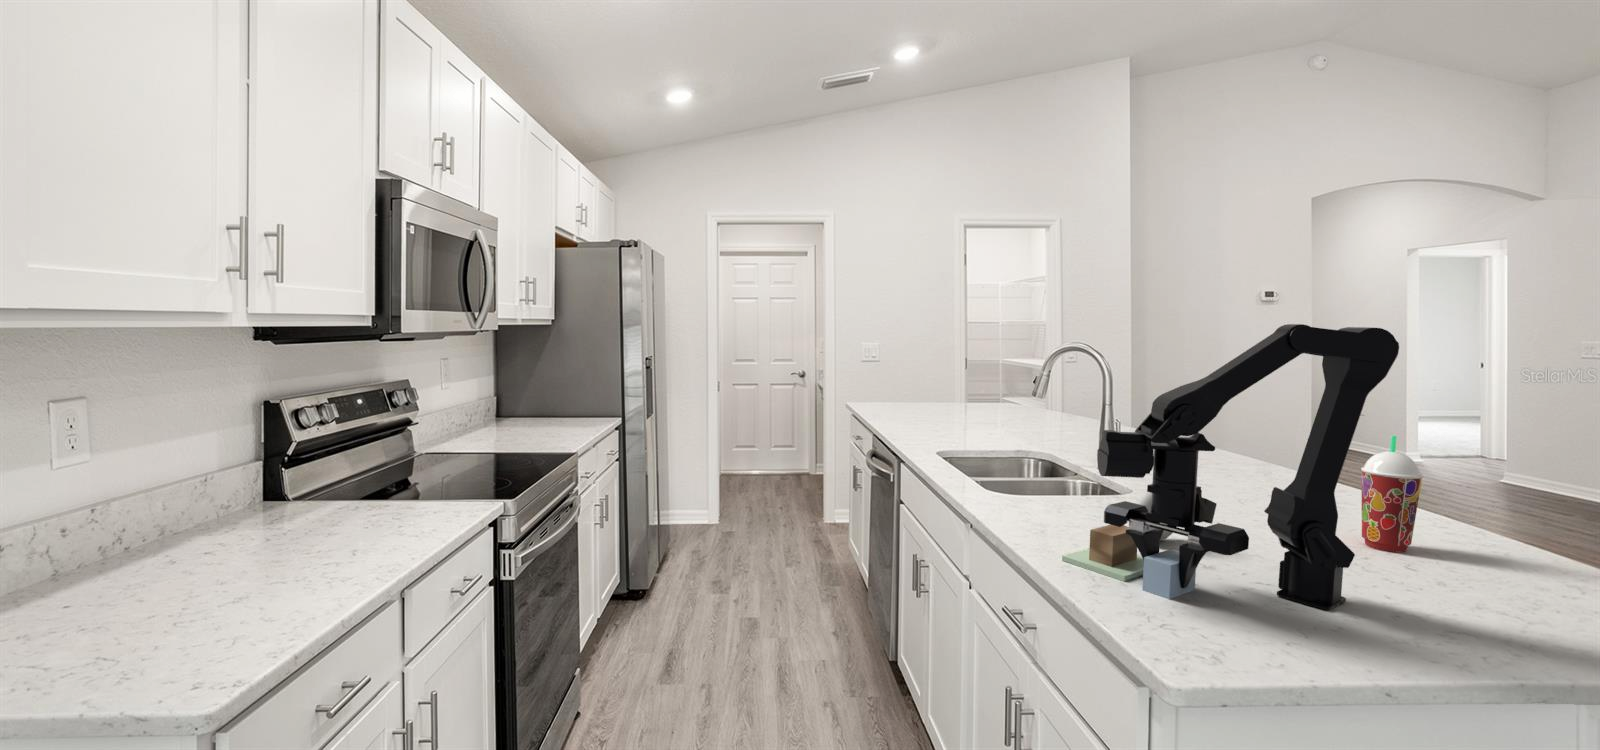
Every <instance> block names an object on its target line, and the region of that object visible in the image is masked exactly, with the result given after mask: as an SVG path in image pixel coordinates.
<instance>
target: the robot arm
mask: <svg viewBox="0 0 1600 750" xmlns="http://www.w3.org/2000/svg"><path fill="white" fill-rule="evenodd" d="M1399 351H1400V342H1399V341H1397V339H1396V338H1395V336H1394V335H1393V334H1392V333H1391V332H1390V331H1389V330H1387V329H1385V328H1381V327H1366V326H1365V327H1362V326H1361V327H1357V326H1356V327H1355V326H1348V327H1342V328H1339V329H1330V328H1321V327H1314V326H1310V325H1307V324H1304V323H1303V324H1302V323H1290V324H1289V323H1288V324H1283V325H1281V326H1279V327H1278V328H1276V330H1275V331H1274V332H1273V333H1271V334H1270V335H1268V336H1266V337H1264V338H1263V339H1262V340H1261V341H1258V342H1257V343H1256V344H1255V345H1253V346H1251V347H1249V348H1248V349H1247V350H1245V351H1244V352H1242V353H1240V354H1239V355H1238V356H1236V357H1234V358H1233V359H1232V360H1229V361H1228V362H1227V363H1225V364H1224V365H1222V366H1220V367H1219V368H1218V369H1216V370H1214V371H1213V372H1211V373H1209V375H1207V376H1205V377H1203V378H1201V379H1198V380H1195V381H1192V382H1189V383H1185V384H1183V385H1179V386H1177V387H1175V388H1173V389H1171V390H1168V391H1166V392H1164V393H1162V394H1160V395H1158V396H1157V397H1156V398H1155V399H1154V400H1153V402H1152V404H1151V406H1152V407H1151V409H1150V410H1151V411H1150V413H1149V414H1148V415H1147V416H1146V417H1145V419H1143V421H1142V422H1141V423H1140V424H1139V426H1138V427H1137V428H1136V429H1135V430H1134V432H1132V431H1129V432H1128V431H1116V430H1112V429H1105V430H1104V429H1103V431H1102V438H1101V440H1100V442H1099V448H1098V449H1097V452H1096V453H1097V455H1096V458H1097V459H1096V461H1097V469H1098V472H1099V474H1100V476H1101V477H1114V478H1115V477H1116V478H1136V479H1137V478H1138V479H1139V478H1140V479H1143V478H1144V477H1145V476H1146V475H1150V474H1151V471H1152V483H1151V484H1147V487H1146V490H1147V492H1151V493H1152V502H1151V511H1150V512H1148V510H1147V508H1146V506H1144V505H1139V504H1135V503H1136V502H1131V501H1126V500H1124V501H1120V502H1116V503H1111V504H1108V505H1107V506H1106V507H1105V509H1104V511H1103V523H1104V524H1108V525H1114V526H1118V527H1122V526H1126V524H1127V523H1128V527H1129V529H1128V530H1126V534H1128V535H1130V536H1131V537H1132V539H1133V541H1134V543H1135V544H1136V546H1137V551H1138V552H1139V554H1140V556H1142V558H1143V560H1144V557H1147V556H1150V555H1153V554H1157V553H1160V539H1161V536H1162V534H1163V531H1164V530H1165V531H1169V532H1172V534H1177V535H1181V536H1185V537H1187V543H1183V544H1179V545H1178V546H1179V547H1178V550H1179V551H1178V552H1179V579H1180V586H1181V588H1183V589H1184V588H1186V587H1187V586H1188V584H1189V582H1190V580H1191V578H1192V576H1193V574H1194V572H1195V570H1196V571H1197V568H1198V566H1199V564H1200V562H1201V561H1202V559H1203V558H1204V556H1206V553H1209V552H1211V553H1216V554H1220V555H1223V556H1233V555H1235V554H1237V553H1240V552H1244V551H1246V550H1249V544H1250V542H1249V541H1250V537H1249V535H1248V533H1247V531H1246V530H1245V528H1241V527H1237V526H1234V525H1228V524H1225V523H1219V522H1217V523H1215V524H1213V522H1214V521H1213V520H1214V518H1215V517H1214V516H1215V513H1216V508H1217V502H1214V501H1212V500H1210V499H1208V498H1205V497H1202V494H1203V493H1202V492H1203V491H1202V486H1198V485H1197V483H1198V482H1197V481H1198V469H1199V467H1198V465H1199V452H1214V451H1215V450H1216V446H1214V445H1213V444H1211V442H1210V441H1209V440H1208V439H1207V438H1206V436H1205V434H1203V433H1200V432H1201V431H1202V430H1203V429H1204V428H1205V427H1206V426H1208V424H1209V423H1211V422H1212V421H1213V420H1214V419H1216V417H1217V416H1218V415H1219V413H1220V412H1221V410H1222V409H1223V407H1224V406H1225V405H1226V404H1227V403H1228V402H1229V401H1230V400H1232V399H1233V398H1234V397H1236V396H1238V395H1239V394H1241V393H1242V392H1244V391H1245V390H1247V389H1249V388H1251V387H1252V386H1253V385H1255V384H1257V383H1258V382H1260V381H1262V380H1263V379H1264V378H1266V377H1268V376H1269V375H1271V374H1272V373H1274V372H1276V371H1277V370H1279V369H1280V368H1282V367H1284V366H1285V365H1286V364H1288V363H1290V362H1291V361H1293V360H1295V359H1296V358H1297V357H1299V356H1300V355H1302V354H1306V355H1312V356H1318V357H1322V363H1321V366H1322V373H1323V378H1324V382H1325V383H1324V384H1325V387H1324V390H1323V393H1322V396H1321V398H1320V399H1321V400H1320V402H1319V406H1318V407H1317V411H1316V414H1315V418H1314V420H1313V422H1312V423H1313V424H1312V426H1311V429H1310V433H1309V435H1308V438H1307V441H1306V444H1305V447H1304V450H1303V453H1302V456H1301V459H1300V462H1299V465H1298V468H1297V471H1296V474H1295V477H1294V479H1293V480H1292V482H1291V483H1289V485H1287V487H1286V488H1284V489H1281V488H1279V487H1276V486H1274V487H1273V488H1272V491H1271V496H1270V502H1269V504H1268V506H1266V508H1265V509H1264V513H1265V514H1267V520H1266V522H1267V526H1268V527H1269V528H1270V530H1271V532H1272V533H1273V534H1274V535H1275V536H1276V537H1277V538H1278V540H1279V544H1280V546H1281V547H1282V548H1284V549H1286V550H1287V551H1285V552H1284V555H1283V557H1284V558H1283V559H1282V560H1281V561H1279V569H1278V571H1279V572H1278V588H1279V589H1280V590H1278V591H1276V596H1277V597H1281V598H1284V599H1286V600H1287V599H1288V600H1291V601H1295V602H1297V603H1301V604H1304V605H1308V606H1311V607H1315V608H1318V609H1321V610H1324V611H1325V610H1326V611H1329V610H1332V609H1333V608H1335V607H1338V606H1339V605H1341V604H1343V603H1345V602H1346V601H1347V598H1346V597H1345V596H1342V589H1343V576H1344V575H1343V573H1344V569H1345V568H1346V569H1348V568H1350V566H1351V565H1352V562H1353V560H1354V558H1355V557H1356V554H1355V553H1354V552H1353V550H1352V549H1350V548H1349V546H1347V545H1346V543H1344V542H1343V541H1342V540H1341V539H1340V538H1339V537H1338V536H1337V527H1338V520H1339V513H1338V509H1337V502H1336V501H1337V500H1336V496H1335V492H1336V491H1335V490H1336V488H1337V485H1338V482H1339V479H1340V476H1341V473H1342V470H1343V467H1344V464H1345V461H1346V458H1347V456H1348V453H1349V450H1350V446H1351V444H1352V441H1353V438H1354V435H1355V433H1356V429H1357V427H1358V423H1359V420H1360V418H1361V415H1362V411H1363V409H1364V406H1365V403H1366V400H1367V397H1368V395H1369V394H1370V393H1371V392H1372V391H1373V390H1374V389H1375V388H1376V387H1377V386H1378V385H1379V384H1380V383H1381V382H1383V380H1384V379H1385V378H1386V377H1387V376H1388V374H1389V372H1390V370H1391V369H1392V367H1393V365H1394V363H1395V361H1396V359H1397V357H1398V356H1399ZM1203 522H1204V523H1206V524H1211V525H1209V526H1202V525H1198V524H1195V523H1203ZM1161 523H1164V524H1161ZM1165 524H1167V525H1165Z"/></svg>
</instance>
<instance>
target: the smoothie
mask: <svg viewBox="0 0 1600 750" xmlns="http://www.w3.org/2000/svg"><path fill="white" fill-rule="evenodd" d="M1390 437H1391V439H1390V450H1386V451H1381V452H1377V453H1375V454H1373V455H1372V456H1370V457H1369V458H1368V459H1367V460H1366V462H1365V463H1364V466H1361V467H1360V469H1361V470H1360V471H1361V537H1362V538H1363V539H1364V543H1365V545H1367V546H1368V547H1369V548H1371V549H1375V550H1379V551H1384V552H1393V553H1403V552H1406V551H1407V550H1408V546H1411V545H1412V542H1413V541H1412V540H1413V535H1414V530H1415V529H1414V528H1415V524H1416V523H1415V521H1416V517H1417V510H1418V504H1419V499H1420V493H1421V487H1422V478H1423V477H1424V475H1423V473H1421V472H1420V470H1419V467H1418V465H1417V463H1416V462H1415V461H1414V460H1413V459H1412V458H1411V457H1410V456H1408V455H1406V454H1403V453H1401V452H1399V451H1396V449H1397V448H1396V446H1397V436H1396V435H1391V436H1390Z"/></svg>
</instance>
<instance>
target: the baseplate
mask: <svg viewBox="0 0 1600 750" xmlns="http://www.w3.org/2000/svg"><path fill="white" fill-rule="evenodd" d="M1089 549H1090V547H1089V548H1086V549H1081V550H1078V551H1074V552H1071V553H1070V552H1069V553H1067V554H1064V555H1061V556H1062V557H1061V561H1063V562H1064V563H1069V564H1072V565H1074V566H1077V567H1080V568H1082V569H1083V568H1084V569H1085V570H1086V569H1087V570H1090V571H1091V572H1095V573H1098V574H1101V575H1104V576H1107V577H1110V578H1113V579H1116V580H1119V581H1121V582H1126V581H1130V580H1132V579H1135V578H1138V577H1142V576H1143V568H1144V560H1143V558H1142V556H1141V555H1138V554H1137V559H1136V560H1132V561H1129V562H1126V563H1123V564H1120V565H1117V566H1114V567H1110V566H1107V565H1104V564H1100V563H1097V562H1094V561H1091V560H1089Z"/></svg>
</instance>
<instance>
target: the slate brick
mask: <svg viewBox="0 0 1600 750" xmlns="http://www.w3.org/2000/svg"><path fill="white" fill-rule="evenodd" d="M1196 571H1197V569H1196V570H1195V572H1194V574H1193V576H1192V578H1191V580H1190V582H1189V584H1188V586H1187V587H1186V588H1184V589H1183V588H1181V586H1180V579H1179V551H1178V550H1174V549H1170V548H1169V549H1166V550H1163V551H1159V553H1157V554H1153V555H1150V556H1147V557H1144V568H1143V575H1142V589H1141V590H1142V591H1143V592H1146V593H1149V594H1152V595H1154V596H1157V597H1160V598H1164V599H1167V600H1171V599H1174V598H1176V597H1179V596H1182V595H1185V594H1187V593H1190V592H1193V591H1195V589H1196V577H1197V576H1196V574H1197V573H1196Z"/></svg>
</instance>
